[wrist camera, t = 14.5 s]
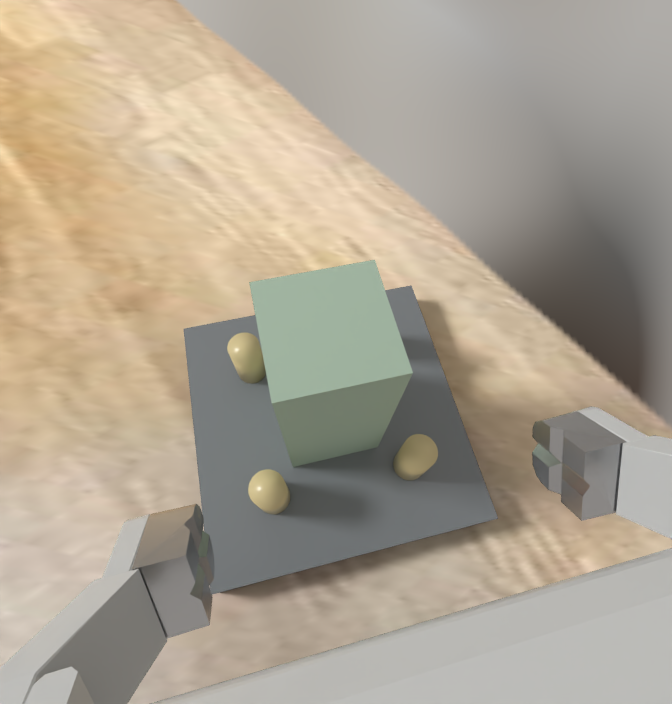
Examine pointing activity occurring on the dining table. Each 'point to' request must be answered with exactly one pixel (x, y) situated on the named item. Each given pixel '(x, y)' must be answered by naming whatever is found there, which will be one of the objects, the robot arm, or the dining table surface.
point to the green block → (330, 359)
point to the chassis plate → (322, 462)
